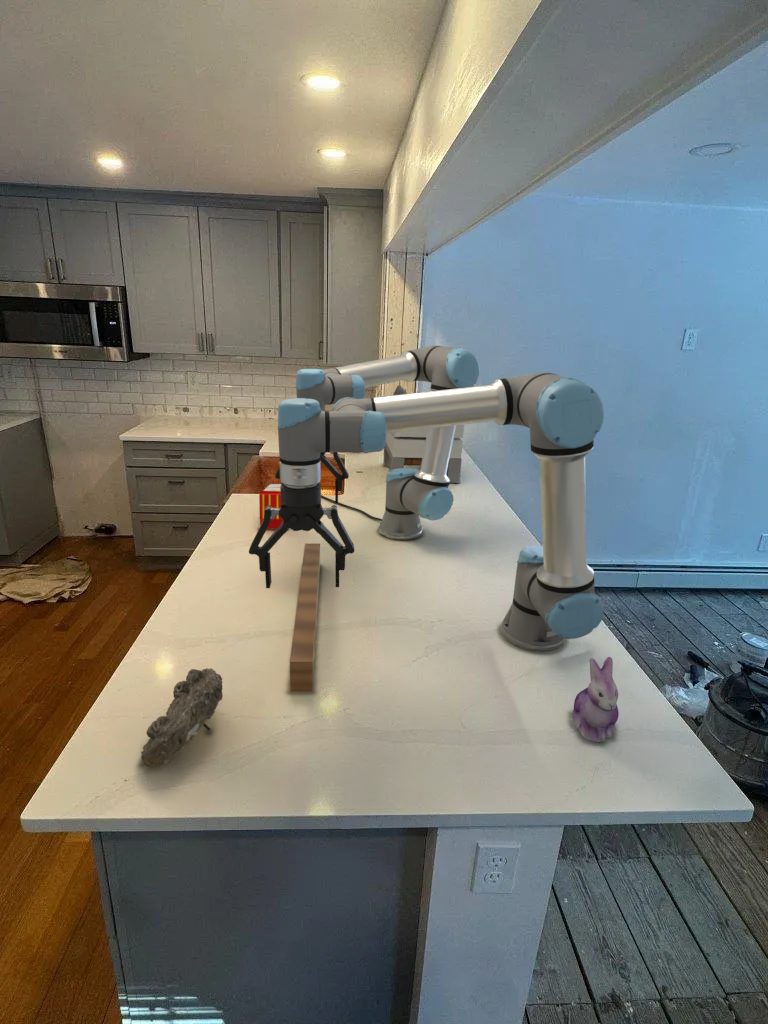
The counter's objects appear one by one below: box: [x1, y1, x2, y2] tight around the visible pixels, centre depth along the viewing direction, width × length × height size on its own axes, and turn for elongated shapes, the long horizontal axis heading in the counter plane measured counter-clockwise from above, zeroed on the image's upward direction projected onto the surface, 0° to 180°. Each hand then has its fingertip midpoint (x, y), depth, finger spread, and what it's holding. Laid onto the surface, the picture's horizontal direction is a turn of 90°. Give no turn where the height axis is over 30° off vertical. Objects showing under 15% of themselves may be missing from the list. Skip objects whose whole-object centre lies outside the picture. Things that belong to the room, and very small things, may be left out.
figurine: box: [571, 656, 620, 743], centre depth 107 cm, size 9×10×15 cm
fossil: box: [140, 667, 224, 767], centre depth 103 cm, size 22×10×15 cm
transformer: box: [383, 384, 465, 484], centre depth 268 cm, size 34×33×41 cm
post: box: [289, 543, 321, 693], centre depth 143 cm, size 60×5×7 cm, turn 5°
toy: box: [258, 483, 283, 530], centre depth 210 cm, size 12×13×30 cm
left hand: (312, 502), depth 161 cm, fingers open, 13 cm apart
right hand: (303, 584), depth 113 cm, fingers open, 13 cm apart
